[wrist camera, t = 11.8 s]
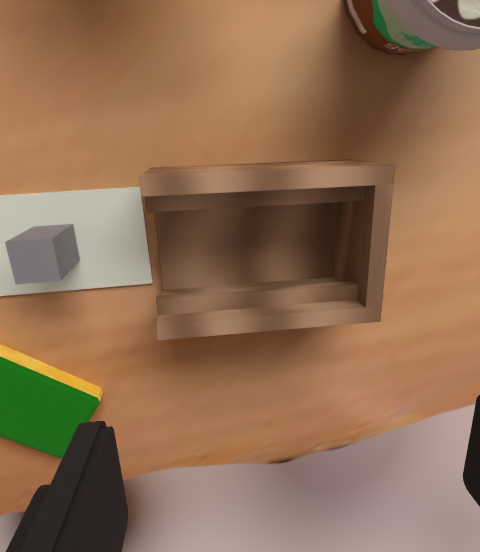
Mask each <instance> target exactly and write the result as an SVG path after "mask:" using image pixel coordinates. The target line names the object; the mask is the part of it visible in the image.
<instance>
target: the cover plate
mask: <svg viewBox="0 0 480 552" xmlns="http://www.w3.org/2000/svg"><path fill="white" fill-rule="evenodd" d="M151 283H153V280H152V272H151V264H150V257H149V249H148V241H147V233H146V226H145V218H144V210H143V202H142V196H141V187H128V188H111V189H95V190H79V191H62V192H46V193H30V194H13V195H0V296H8V295H20V294H32V293H43V292H55V291H67V290H79V289H91V288H103V287H115V286H127V285H139V284H151Z"/></svg>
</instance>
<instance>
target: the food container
mask: <svg viewBox="0 0 480 552" xmlns="http://www.w3.org/2000/svg"><path fill="white" fill-rule="evenodd" d="M344 5H345V9H346V13H347V15H348V17H349V19H350V21H351V23H352V25H353V27H354V28H355V30H356V32H357V34H358V35H359V36H360V37H361V38H362V39H364V40H365V41H366V42H367V43H368V44H369V45H370V46H371V47H372V48H375V49H377V50H379V51H382V52H384V53H387V54H394V55H405V54H410V53H414V52H418V51H422V50H426V49H430V48H434V47H440V48H445V49H451V50H474V49H479V48H480V0H344Z"/></svg>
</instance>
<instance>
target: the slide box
mask: <svg viewBox="0 0 480 552" xmlns="http://www.w3.org/2000/svg"><path fill="white" fill-rule="evenodd" d="M394 171H395V165H390V164H382V163H373V162H365V161H357V160H332V161H307V162H283V163H259V164H235V165H211V166H187V167H163V168H150V169H149V170H148V171H146V172H145V173H143V174H142V175H140V176H139V178H140V187H141V196H142V197H143V196H145V204H146V212H155V219H156V229H157V238H158V248H159V257H160V267H161V276H162V286H163V291H162V295H160V296H157V299H156V302H157V311H158V318H157V323H156V327H157V336H158V340H168V339H180V338H192V337H204V336H216V335H227V334H239V333H251V332H263V331H275V330H286V329H298V328H310V327H322V326H334V325H345V324H357V323H369V322H380V321H381V310H382V300H383V289H384V278H385V268H386V257H387V246H388V236H389V225H390V214H391V204H392V193H393V182H394Z"/></svg>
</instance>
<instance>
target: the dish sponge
mask: <svg viewBox="0 0 480 552" xmlns="http://www.w3.org/2000/svg"><path fill="white" fill-rule="evenodd" d="M102 394H103V391H102V388H100V387H98V386H96V385H94V384H91V383H89V382H87V381H84V380H82V379H80V378H77V377H75V376H73V375H70V374H68V373H66V372H64V371H61V370H59V369H57V368H54V367H52V366H50V365H47V364H45V363H43V362H40V361H38V360H36V359H33V358H31V357H29V356H27V355H24V354H22V353H20V352H17V351H15V350H13V349H10V348H8V347H6V346H3V345H1V344H0V436H1V437H4V438H7V439H9V440H12V441H15V442H18V443H20V444H23V445H26V446H29V447H31V448H34V449H37V450H39V451H42V452H45V453H48V454H50V455H53V456H56V457H58V458H63V456H64V454H65V452H66V450H67V448H68V445H69V443H70V441H71V439H72V437H73V434H74V432H75V430H76V428H77V426H78V424H80V423H84V422H88V421H89V420H90V418H91V417H92V415H93V413H94V412H95V410H96V408H97V407H98V405H99V403H100V400H101V397H102Z"/></svg>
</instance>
